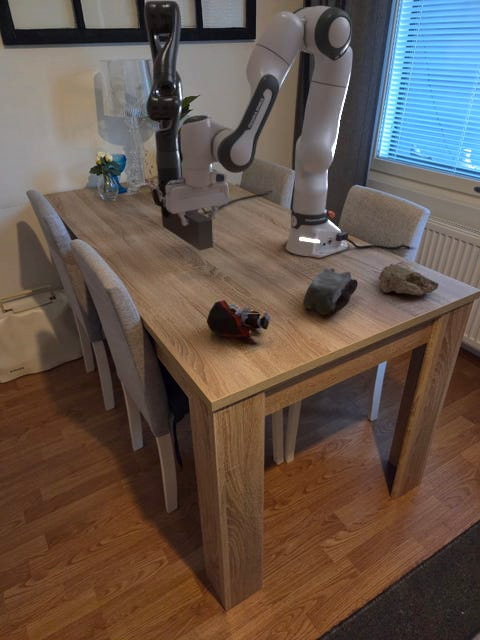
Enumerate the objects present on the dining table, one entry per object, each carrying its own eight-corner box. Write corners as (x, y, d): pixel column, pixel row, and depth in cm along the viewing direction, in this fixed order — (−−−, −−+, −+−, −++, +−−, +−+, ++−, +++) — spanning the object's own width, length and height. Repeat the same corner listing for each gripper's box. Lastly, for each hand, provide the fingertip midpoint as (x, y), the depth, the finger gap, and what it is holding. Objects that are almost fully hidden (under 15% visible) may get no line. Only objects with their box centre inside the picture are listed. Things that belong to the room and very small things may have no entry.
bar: (162, 226, 156) (160, 200, 151) (175, 223, 158) (173, 198, 153) (199, 250, 138) (198, 222, 133) (212, 247, 140) (212, 219, 135)
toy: (264, 297, 102) (206, 289, 108) (254, 335, 100) (195, 325, 105) (276, 315, 113) (223, 308, 119) (267, 350, 110) (213, 341, 116)
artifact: (399, 307, 125) (440, 299, 130) (406, 284, 121) (449, 278, 126) (362, 275, 139) (401, 270, 144) (368, 254, 135) (408, 249, 140)
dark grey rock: (338, 325, 116) (342, 298, 112) (298, 314, 120) (300, 288, 116) (357, 296, 130) (361, 271, 126) (321, 287, 134) (323, 263, 130)
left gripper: (153, 169, 137) (158, 222, 146) (193, 163, 144) (196, 214, 153) (143, 165, 142) (148, 216, 151) (182, 159, 149) (185, 209, 158)
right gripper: (170, 183, 123) (173, 231, 130) (231, 174, 133) (231, 219, 140) (160, 178, 127) (163, 225, 134) (220, 170, 137) (220, 213, 144)
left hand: (172, 215), depth 152 cm, fingers closed on bar, 5 cm apart
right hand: (198, 222), depth 137 cm, fingers open, 8 cm apart
